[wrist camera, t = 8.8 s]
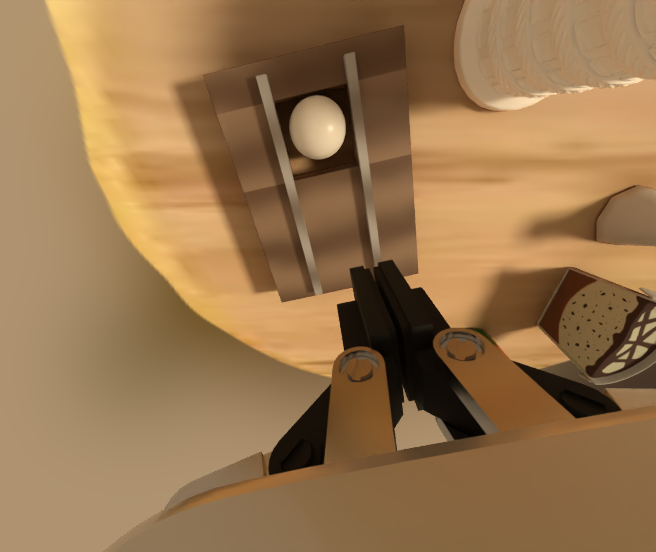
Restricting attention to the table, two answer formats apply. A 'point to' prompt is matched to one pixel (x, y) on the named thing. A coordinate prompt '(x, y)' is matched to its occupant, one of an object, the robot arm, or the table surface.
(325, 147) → the ball
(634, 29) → the decorative container
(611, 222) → the flask
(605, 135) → the table surface
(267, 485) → the robot arm
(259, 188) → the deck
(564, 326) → the food container
